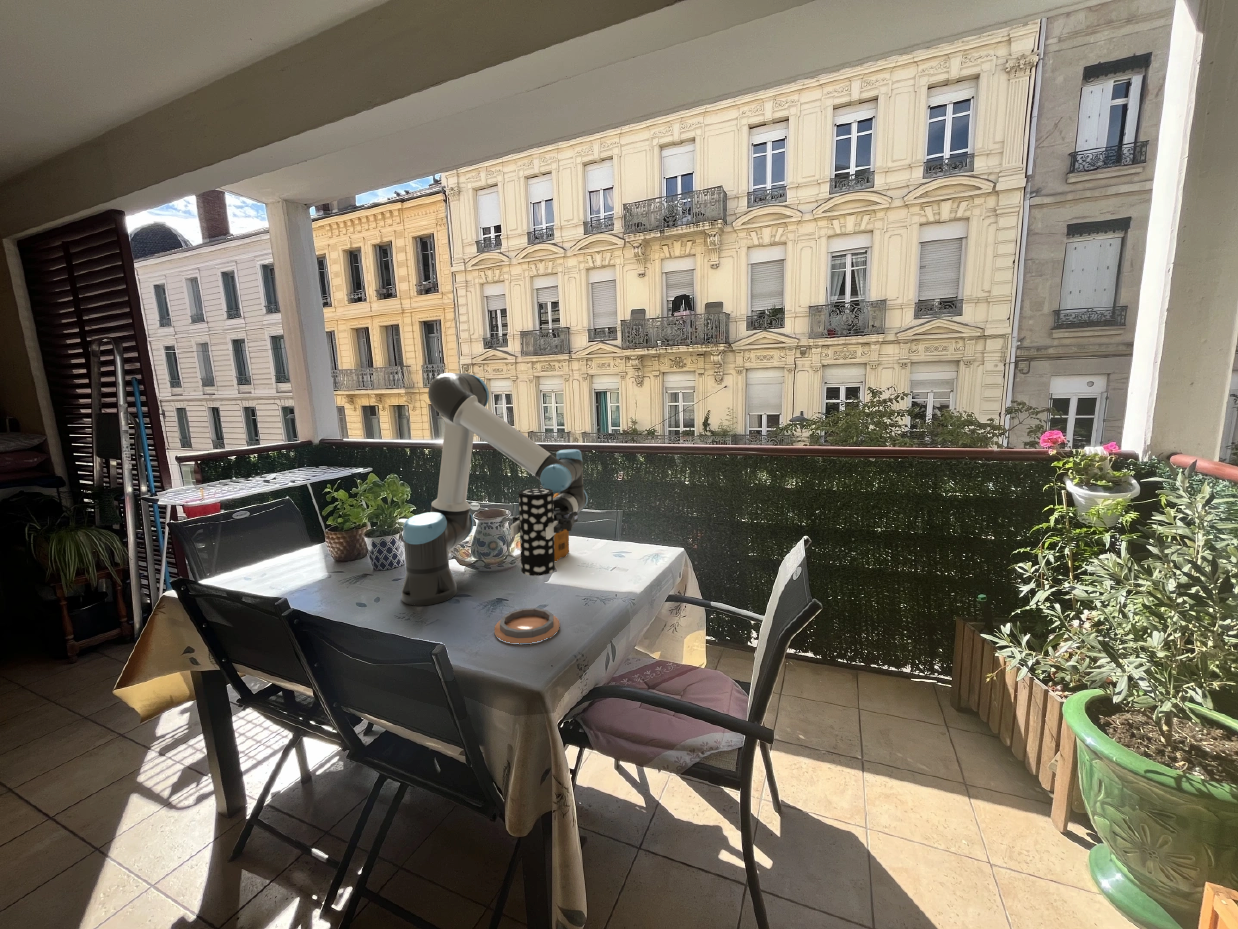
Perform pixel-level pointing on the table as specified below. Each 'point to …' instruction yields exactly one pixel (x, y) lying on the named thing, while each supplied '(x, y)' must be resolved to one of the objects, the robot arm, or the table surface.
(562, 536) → the coffee package
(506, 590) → the table surface
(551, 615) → the collar plate
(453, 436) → the robot arm
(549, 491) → the white-spotted black cylinder
